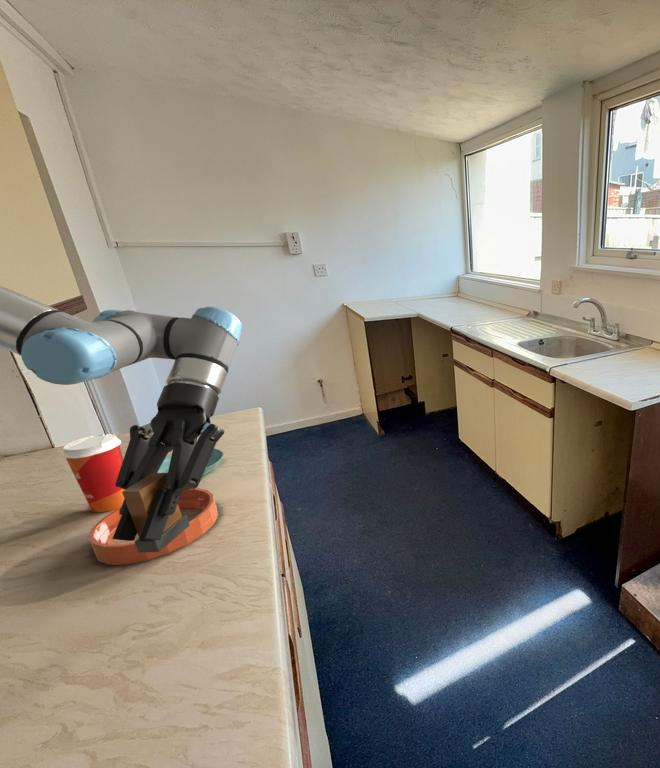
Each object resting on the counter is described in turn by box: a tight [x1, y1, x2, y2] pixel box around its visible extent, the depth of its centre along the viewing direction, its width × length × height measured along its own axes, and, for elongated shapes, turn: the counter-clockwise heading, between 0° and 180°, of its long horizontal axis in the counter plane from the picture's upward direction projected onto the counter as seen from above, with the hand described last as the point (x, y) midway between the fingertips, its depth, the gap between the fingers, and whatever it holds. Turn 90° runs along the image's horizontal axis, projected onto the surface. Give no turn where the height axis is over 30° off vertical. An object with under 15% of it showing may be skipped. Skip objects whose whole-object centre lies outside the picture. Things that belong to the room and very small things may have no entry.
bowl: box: [87, 487, 219, 566], centre depth 73 cm, size 17×17×4 cm
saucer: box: [157, 447, 224, 476], centre depth 95 cm, size 15×15×3 cm
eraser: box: [122, 473, 190, 553], centre depth 59 cm, size 6×3×10 cm, turn 1°
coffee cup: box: [61, 433, 125, 513], centre depth 80 cm, size 8×8×15 cm
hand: (136, 539), depth 56 cm, fingers closed on eraser, 3 cm apart
